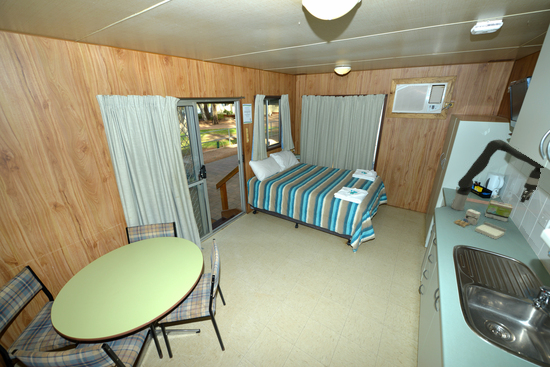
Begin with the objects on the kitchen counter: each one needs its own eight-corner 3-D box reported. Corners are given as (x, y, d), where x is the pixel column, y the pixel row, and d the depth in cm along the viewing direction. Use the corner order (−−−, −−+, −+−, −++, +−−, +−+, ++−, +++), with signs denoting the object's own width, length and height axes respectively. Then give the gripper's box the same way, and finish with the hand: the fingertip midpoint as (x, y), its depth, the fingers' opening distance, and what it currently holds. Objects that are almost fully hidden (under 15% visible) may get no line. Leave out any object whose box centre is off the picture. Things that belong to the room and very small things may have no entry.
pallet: (453, 223, 199) (454, 221, 198) (458, 220, 202) (459, 219, 201) (463, 227, 192) (464, 225, 191) (468, 225, 195) (469, 223, 194)
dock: (474, 230, 187) (476, 225, 185) (483, 226, 192) (485, 221, 190) (495, 239, 175) (497, 233, 173) (503, 234, 181) (506, 229, 179)
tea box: (484, 216, 208) (490, 203, 203) (484, 212, 215) (490, 199, 209) (506, 222, 198) (512, 208, 193) (506, 217, 205) (512, 204, 200)
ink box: (462, 220, 202) (466, 209, 198) (465, 219, 204) (469, 208, 199) (473, 225, 195) (478, 213, 190) (476, 224, 197) (481, 212, 192)
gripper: (529, 180, 177) (521, 197, 184) (522, 183, 172) (514, 201, 178) (543, 183, 171) (534, 201, 177) (536, 186, 165) (526, 204, 172)
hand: (524, 201), depth 178 cm, fingers open, 8 cm apart
